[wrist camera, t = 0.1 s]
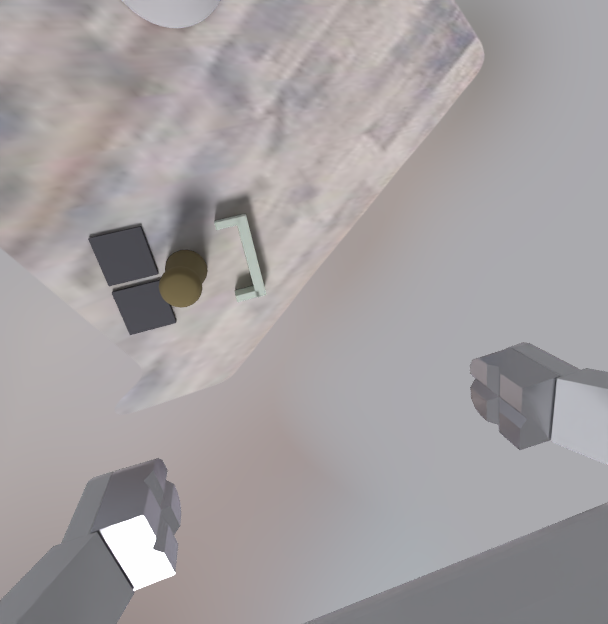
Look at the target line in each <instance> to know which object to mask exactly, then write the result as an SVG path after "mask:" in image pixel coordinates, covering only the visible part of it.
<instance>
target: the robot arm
mask: <svg viewBox="0 0 608 624" xmlns="http://www.w3.org/2000/svg"><path fill="white" fill-rule="evenodd" d="M122 1H123V2H124V3H125V4H126V5H127V6H128V7H129V8H130V9H131V10H132V11H133V12H135V13H136V14H137V15H139V16H140V17H142V18H144V19H145V20H147V21H149V22H151V23H154V24H156V25H159V26H163V27H168V28H185V27H189V26H192V25H195V24H197V23H199V22H201V21H203V20H204V19H205V18H207V17H208V16H209V15H210V14H211V13H212V12H213V11H214V10H215V8H216V7H217V5H218V4H219V2H220V0H122ZM470 374H471V375H472V376H473V377H474V378H475V380H474V382H473V384H472V385H471V387H470V388H471V389H470V390H471V399H472V402H473V404H474V407H475V408H476V410H477V411H478V413H479V414H480V415H481V416H482V417H483V418H484V419H485V420H486V421H488V422H492V423H495V424H498V426H499V432H500V433H501V434H502V435H503V436H504V437H505V438H507V440H509V441H510V442H511V443H512V444H513V445H514V446H515V447H517V448H518V449H519V450H522V449H525V448H528V447H531V446H534V445H537V444H540V443H543V442H546V441H549V440H551V442H553V443H555V444H557V445H560V446H562V447H565V448H567V449H570V450H572V451H574V452H577V453H579V454H582V455H584V456H587V457H589V458H592V459H594V460H596V461H599V462H601V463H604V464H606V465H608V372H605V371H599V370H594V369H588V368H586V369H582V370H580V369H578V368H576V367H574V366H572V365H570V364H569V363H567V362H565V361H563V360H561V359H559V358H557V357H555V356H553V355H551V354H549V353H547V352H546V351H544V350H542V349H540V348H538V347H536V346H534V345H532V344H530V343H524V342H523V343H520V344H517V345H514V346H511V347H508V348H506V349H504V350H501V351H498V352H495V353H492V354H489V355H486V356H482V357H480V358H476V359H473V360H472V362H471V364H470ZM166 476H167V468H166V466H165V464H164V462H163V460H161V459H159V458H157V459H154V460H150V461H147V462H144V463H140V464H137V465H133V466H130V467H126V468H123V469H119V470H116V471H115V472H110V473H106V474H103V475H100V476H97V477H93V478H92V479H91V480H90V481H88V483H87V485H86V487H85V489H84V492H83V494H82V496H81V499H80V501H79V503H78V506H77V508H76V510H75V513H74V515H73V517H72V519H71V522H70V524H69V526H68V529H67V531H66V533H65V536H64V538H63V540H62V543H61V544H59V545H56V546H53V547H52V548H51V549H50V550H49V551H48V552H47V553H46V554H45V555H44V556H43V557H42V558H41V559H40V560H39V561H38V562H37V563H36V564H35V565H34V567H33V568H32V569H31V570H30V571H29V572H28V573H27V574H26V575H25V576H24V577H23V578H22V579H21V580H20V581H19V582H18V583H17V584H16V585H15V586H14V587H13V588H12V589H11V590H10V591H9V592H8V593H7V594H6V595H5V596H4V597H3V598H2V599H1V600H0V624H117V622H118V620H119V618H120V617H121V615H122V613H123V612H124V610H125V608H126V606H127V605H128V603H129V601H130V599H131V598H132V596H133V594H134V591H133V590H136V589H138V588H141V587H143V586H146V585H148V584H151V583H154V582H156V581H159V580H161V579H164V578H166V577H169V576H171V575H174V574H175V569H176V560H177V551H178V543H177V541H176V539H175V537H174V534H175V533H176V531H177V530H178V528H179V527H180V522H181V507H180V500H179V496H178V492H177V490H176V488H175V485H174V484H173V483H171V482H169V481H167V480H166ZM303 624H608V503H605V504H603V505H600V506H598V507H595V508H593V509H590V510H587V511H585V512H582V513H580V514H577V515H575V516H572V517H570V518H567V519H565V520H562V521H560V522H558V523H555V524H552V525H550V526H548V527H545V528H542V529H540V530H537V531H535V532H532V533H530V534H528V535H525V536H522V537H520V538H517V539H515V540H512V541H510V542H507V543H505V544H503V545H500V546H497V547H495V548H493V549H490V550H487V551H485V552H482V553H480V554H477V555H475V556H472V557H470V558H467V559H465V560H462V561H460V562H457V563H455V564H452V565H450V566H447V567H445V568H442V569H440V570H437V571H435V572H432V573H430V574H427V575H424V576H422V577H419V578H417V579H414V580H412V581H409V582H407V583H404V584H402V585H399V586H397V587H394V588H392V589H389V590H386V591H384V592H381V593H379V594H376V595H374V596H371V597H369V598H366V599H364V600H361V601H359V602H356V603H354V604H351V605H349V606H346V607H344V608H341V609H339V610H336V611H334V612H331V613H328V614H326V615H323V616H321V617H319V618H316V619H313V620H311V621H308V622H306V623H303Z"/></svg>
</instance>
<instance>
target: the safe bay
mask: <svg viewBox="0 0 608 624" xmlns="http://www.w3.org/2000/svg"><path fill="white" fill-rule="evenodd" d="M214 224H215V227H216V230H219V229H224V228H228V227H232V226H236V225H237V227H238V230H239V234H240V238H241V242H242V245H243V249H244V253H245V257H246V260H247V264H248V268H249V272H250V275H251V279H252V283H253V286H250V287H246V288H242V289H239V290H235V295H236V299H237V302H240V301H244V300H248V299H252V298H256V297H259V296H263V295H266V291H265V288H264V284H263V280H262V276H261V272H260V268H259V264H258V260H257V256H256V252H255V248H254V244H253V241H252V237H251V233H250V229H249V225H248V221H247V217H246V215H245V214H241V215H237V216H233V217H228V218H224V219H220V220H215V221H214Z"/></svg>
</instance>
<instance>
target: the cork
mask: <svg viewBox="0 0 608 624" xmlns="http://www.w3.org/2000/svg"><path fill="white" fill-rule="evenodd" d="M206 276H207V265H206V263H205V261H204V259H203V258H202V257H201V256H200V255H199V254H197V253H196V252H194V251H190V250H180V251H177V252H175V253H173V254H172V255H171V256H170V257H169V258H168V260H167V262H166V266H165V273H164V274H163V275H162V277H161V279H160V281H159V291H160V294H161V296H162V298H163V299H164V300H165V301H166V302H167V303H168V304H170V305H172V306H175V307H187V306H190V305H192V304H194V303H195V302H196V301H197V300H198V299H199V297H200V295H201V292H202V283H203V282H204V280H205V278H206Z"/></svg>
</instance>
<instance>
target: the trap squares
mask: <svg viewBox="0 0 608 624" xmlns="http://www.w3.org/2000/svg"><path fill="white" fill-rule="evenodd" d="M89 242H90V244H91V246H92V249H93V251H94V253H95V256H96V258H97V260H98V262H99V265H100V267H101V269H102V272H103V274H104V276H105V279H106V281H107V283H108V285H109V286H112V285H116V284H120V283H124V282H128V281H133V280H137V279H141V278H145V277H149V276H153V275H157V274H158V271H157V268H156V265H155V263H154V260H153V257H152V255H151V252H150V249H149V247H148V244H147V241H146V239H145V236H144V233H143V230H142V228H141V226H140V227H136V228H132V229H127V230H123V231H118V232H114V233H110V234H105V235H101V236H96V237H92V238H89ZM159 281H160V280H158V281H154V282H150V283H146V284H142V285H138V286H134V287H130V288H126V289H122V290H118V291H114V292H112V295H113V297H114V299H115V302H116V304H117V306H118V308H119V311H120V313H121V315H122V318H123V320H124V322H125V325H126V327H127V329H128V331H129V334H130V335H132V334H136V333H140V332H143V331H147V330H151V329H155V328H158V327H162V326H166V325H170V324H173V323H176V319H175V317H174V314H173V311H172V308H171V306H170V304H168V303H167V302H166V301H165V300H164V299H163V298H162V296H161V294H160V291H159Z"/></svg>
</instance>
